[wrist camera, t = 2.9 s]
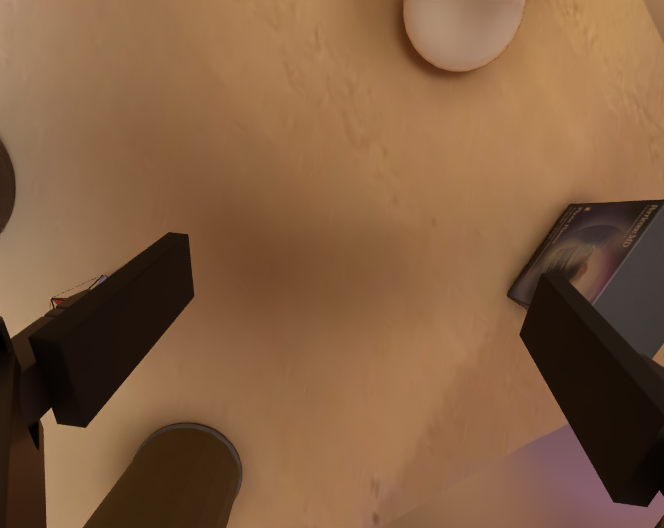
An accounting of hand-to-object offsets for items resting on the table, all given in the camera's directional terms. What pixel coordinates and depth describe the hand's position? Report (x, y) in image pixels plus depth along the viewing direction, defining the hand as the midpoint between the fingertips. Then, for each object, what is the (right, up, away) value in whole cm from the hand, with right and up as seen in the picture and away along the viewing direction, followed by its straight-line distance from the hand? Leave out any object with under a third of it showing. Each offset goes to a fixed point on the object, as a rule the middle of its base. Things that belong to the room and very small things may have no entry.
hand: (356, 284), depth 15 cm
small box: (+21, +1, +22) cm, 30 cm away
